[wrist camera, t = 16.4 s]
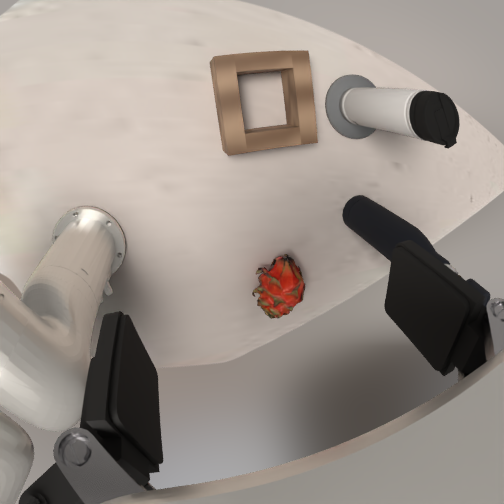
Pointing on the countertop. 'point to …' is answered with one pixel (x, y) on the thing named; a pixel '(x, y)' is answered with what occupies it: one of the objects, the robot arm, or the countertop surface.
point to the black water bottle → (389, 231)
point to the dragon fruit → (280, 287)
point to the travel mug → (403, 112)
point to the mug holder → (295, 99)
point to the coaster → (334, 111)
